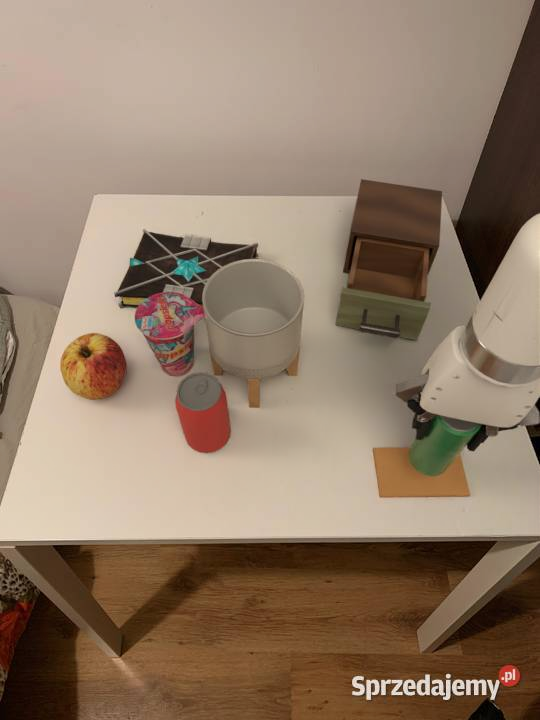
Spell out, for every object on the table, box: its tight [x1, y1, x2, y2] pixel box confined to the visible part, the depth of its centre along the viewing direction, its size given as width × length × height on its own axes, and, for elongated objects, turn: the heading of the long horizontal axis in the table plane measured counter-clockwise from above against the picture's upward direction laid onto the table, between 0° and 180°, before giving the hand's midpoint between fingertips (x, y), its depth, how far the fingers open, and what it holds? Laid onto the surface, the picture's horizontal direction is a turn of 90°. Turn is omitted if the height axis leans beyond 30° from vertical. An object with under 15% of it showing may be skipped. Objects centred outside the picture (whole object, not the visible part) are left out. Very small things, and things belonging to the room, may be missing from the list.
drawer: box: [335, 237, 432, 341], centre depth 80 cm, size 18×13×8 cm
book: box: [113, 228, 259, 309], centre depth 86 cm, size 22×17×5 cm
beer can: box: [174, 371, 232, 454], centre depth 66 cm, size 7×7×12 cm
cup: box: [134, 292, 205, 377], centre depth 73 cm, size 9×8×12 cm
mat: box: [372, 446, 471, 499], centre depth 67 cm, size 12×7×1 cm, turn 91°
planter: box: [202, 258, 305, 409], centre depth 69 cm, size 13×13×18 cm
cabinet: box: [342, 178, 443, 275], centre depth 88 cm, size 15×15×10 cm
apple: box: [59, 332, 128, 400], centre depth 71 cm, size 9×9×10 cm
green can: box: [409, 415, 482, 476], centre depth 58 cm, size 5×5×12 cm
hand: (444, 433), depth 58 cm, fingers closed on green can, 5 cm apart
